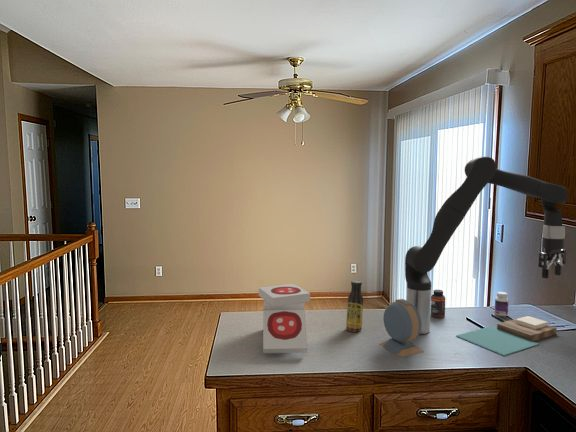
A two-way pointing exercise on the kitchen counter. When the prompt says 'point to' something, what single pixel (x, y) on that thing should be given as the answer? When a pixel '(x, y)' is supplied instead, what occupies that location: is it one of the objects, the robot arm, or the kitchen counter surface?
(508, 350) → the mat
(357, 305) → the sauce bottle
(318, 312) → the kitchen counter surface
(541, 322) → the tile
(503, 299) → the pill bottle
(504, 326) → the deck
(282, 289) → the pizza boxes
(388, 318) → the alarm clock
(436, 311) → the supplement bottle
